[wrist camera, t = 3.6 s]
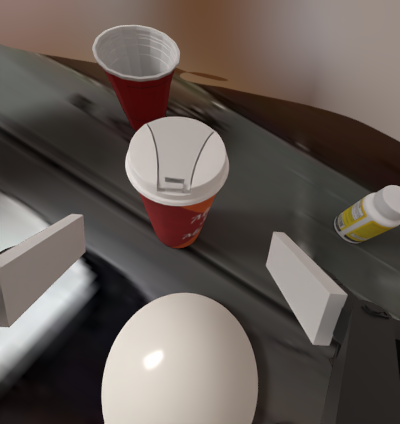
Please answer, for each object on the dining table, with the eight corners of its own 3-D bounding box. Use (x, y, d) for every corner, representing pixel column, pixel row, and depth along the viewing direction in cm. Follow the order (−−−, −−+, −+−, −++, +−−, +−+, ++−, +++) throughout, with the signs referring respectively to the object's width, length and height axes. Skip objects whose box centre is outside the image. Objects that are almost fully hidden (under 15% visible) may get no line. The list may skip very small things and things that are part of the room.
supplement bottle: (371, 235, 32) (431, 208, 24) (349, 249, 30) (405, 225, 23) (347, 209, 33) (396, 177, 26) (326, 221, 32) (371, 190, 25)
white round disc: (85, 477, 18) (79, 487, 17) (123, 290, 25) (121, 288, 24) (259, 479, 19) (264, 488, 18) (249, 298, 26) (253, 297, 25)
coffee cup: (206, 259, 28) (234, 200, 14) (142, 255, 27) (108, 189, 14) (208, 202, 32) (231, 115, 18) (152, 198, 31) (133, 104, 18)
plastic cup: (132, 156, 34) (111, 81, 24) (106, 114, 38) (78, 32, 27) (190, 134, 38) (196, 59, 27) (161, 97, 41) (156, 19, 31)
